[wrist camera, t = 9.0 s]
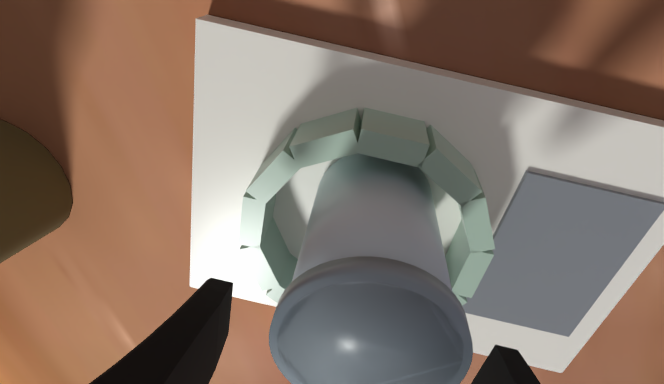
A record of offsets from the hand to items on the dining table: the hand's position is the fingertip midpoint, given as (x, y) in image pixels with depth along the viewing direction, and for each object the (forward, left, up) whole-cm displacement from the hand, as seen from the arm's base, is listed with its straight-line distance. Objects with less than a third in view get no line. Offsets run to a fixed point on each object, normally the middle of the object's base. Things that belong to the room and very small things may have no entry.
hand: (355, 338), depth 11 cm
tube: (0, -1, -6) cm, 6 cm away
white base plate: (-2, 0, -7) cm, 7 cm away
